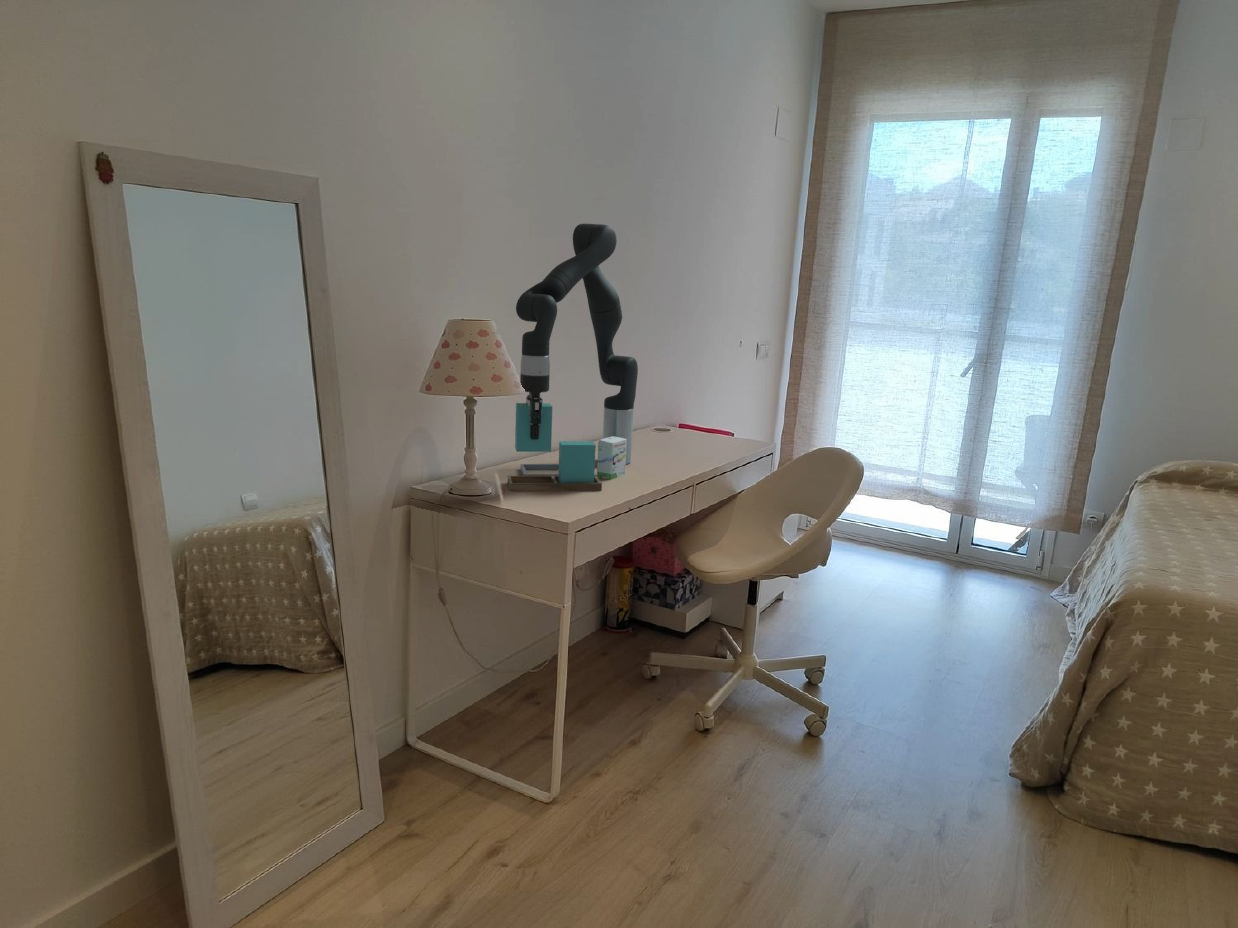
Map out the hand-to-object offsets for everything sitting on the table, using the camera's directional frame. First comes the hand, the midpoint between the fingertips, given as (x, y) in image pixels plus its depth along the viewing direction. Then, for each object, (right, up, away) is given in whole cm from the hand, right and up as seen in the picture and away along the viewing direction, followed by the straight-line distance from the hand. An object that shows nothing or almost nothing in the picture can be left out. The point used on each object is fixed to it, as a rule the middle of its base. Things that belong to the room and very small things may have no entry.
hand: (533, 436), depth 211 cm
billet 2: (+11, -13, +6) cm, 18 cm away
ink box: (+20, -12, +20) cm, 31 cm away
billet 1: (0, -3, +1) cm, 3 cm away
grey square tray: (+2, -11, +18) cm, 21 cm away
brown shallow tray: (+5, -14, +5) cm, 16 cm away
